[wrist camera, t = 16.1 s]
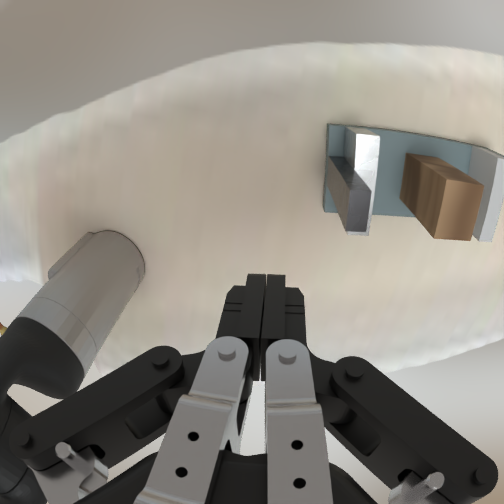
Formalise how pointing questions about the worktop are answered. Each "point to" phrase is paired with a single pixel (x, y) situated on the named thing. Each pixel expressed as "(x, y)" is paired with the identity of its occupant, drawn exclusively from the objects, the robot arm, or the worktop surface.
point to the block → (440, 197)
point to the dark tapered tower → (2, 329)
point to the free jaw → (355, 179)
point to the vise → (453, 152)
